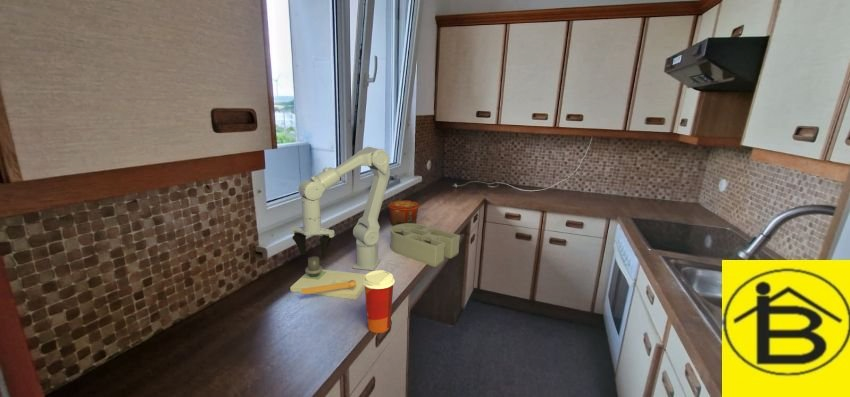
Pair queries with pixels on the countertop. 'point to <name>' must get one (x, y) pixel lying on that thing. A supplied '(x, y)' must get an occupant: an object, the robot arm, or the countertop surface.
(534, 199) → the countertop surface
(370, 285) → the coffee cup
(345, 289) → the board
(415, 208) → the food container
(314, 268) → the plug
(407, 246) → the green compartment tray
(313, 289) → the tan wooden rod
